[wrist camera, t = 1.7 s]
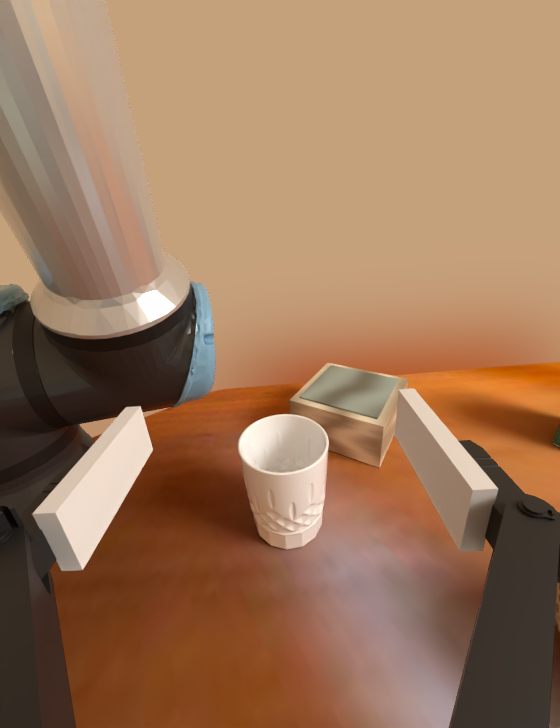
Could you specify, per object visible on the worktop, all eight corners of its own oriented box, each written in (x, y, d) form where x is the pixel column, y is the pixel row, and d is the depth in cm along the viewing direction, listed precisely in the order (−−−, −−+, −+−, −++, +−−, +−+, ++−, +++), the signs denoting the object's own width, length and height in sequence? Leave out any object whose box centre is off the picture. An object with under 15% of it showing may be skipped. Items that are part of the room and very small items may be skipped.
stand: (291, 437, 43) (289, 398, 40) (327, 395, 52) (327, 361, 49) (379, 468, 37) (384, 425, 34) (403, 414, 46) (408, 377, 43)
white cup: (277, 574, 27) (268, 491, 23) (235, 511, 33) (222, 435, 29) (344, 525, 31) (348, 445, 26) (296, 476, 37) (292, 404, 32)
